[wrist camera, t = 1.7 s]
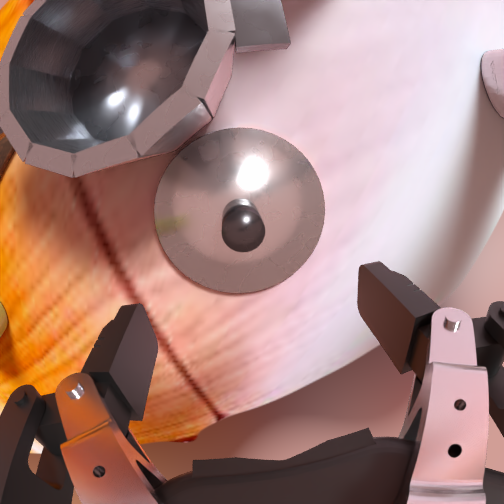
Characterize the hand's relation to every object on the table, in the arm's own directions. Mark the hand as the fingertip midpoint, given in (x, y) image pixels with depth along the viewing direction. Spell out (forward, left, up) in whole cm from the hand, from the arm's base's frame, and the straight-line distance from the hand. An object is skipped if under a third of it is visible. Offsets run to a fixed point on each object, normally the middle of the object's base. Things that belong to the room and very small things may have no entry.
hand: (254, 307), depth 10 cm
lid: (0, 0, -14) cm, 14 cm away
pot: (+6, -13, -13) cm, 19 cm away
